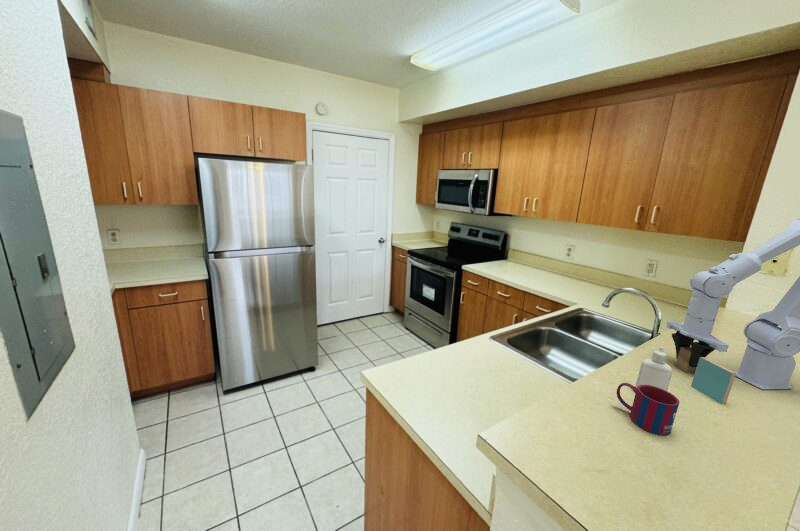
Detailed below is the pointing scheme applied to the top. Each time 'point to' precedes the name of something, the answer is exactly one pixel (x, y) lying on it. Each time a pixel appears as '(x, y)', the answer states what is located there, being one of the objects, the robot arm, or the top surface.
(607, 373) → the top surface
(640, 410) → the mug
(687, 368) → the block
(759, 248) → the robot arm
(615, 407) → the top surface
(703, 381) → the tile
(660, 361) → the eye dropper bottle
